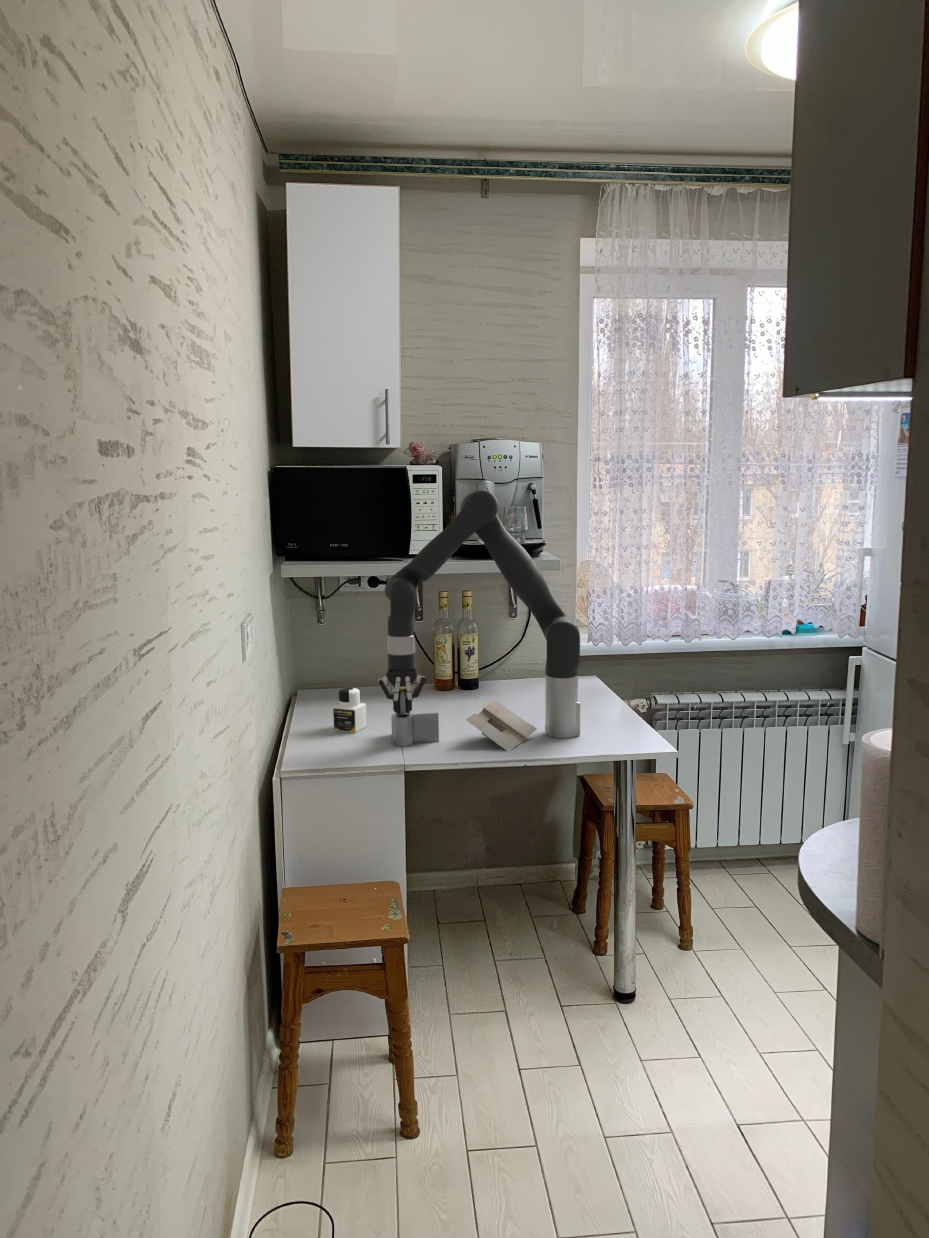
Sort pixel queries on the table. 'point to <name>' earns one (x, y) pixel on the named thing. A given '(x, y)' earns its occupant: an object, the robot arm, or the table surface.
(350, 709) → the medicine bottle
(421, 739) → the hinge
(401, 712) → the pin
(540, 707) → the table surface
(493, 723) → the beige folded piece
